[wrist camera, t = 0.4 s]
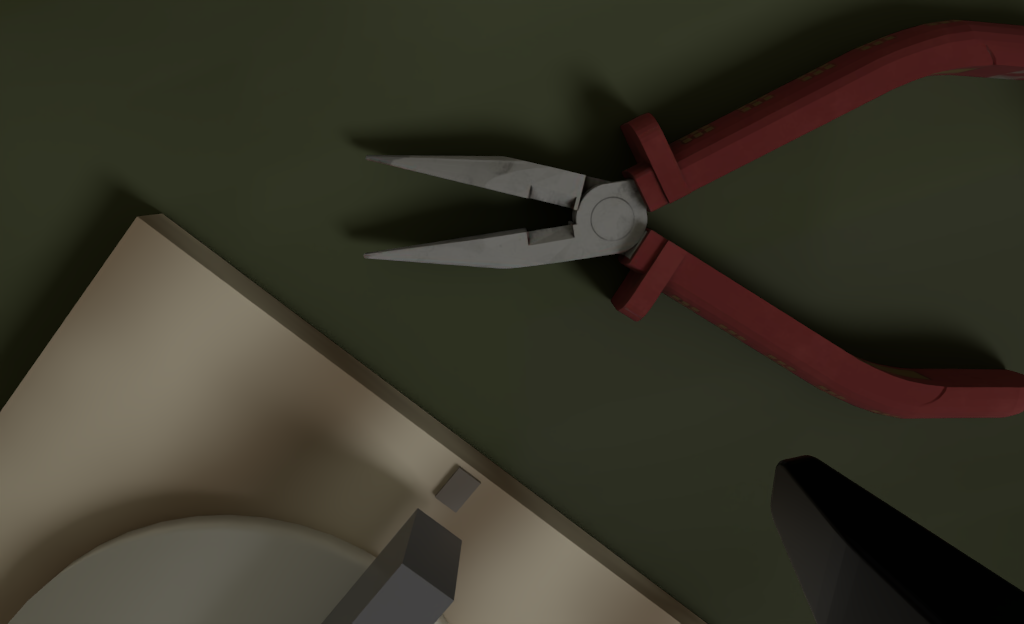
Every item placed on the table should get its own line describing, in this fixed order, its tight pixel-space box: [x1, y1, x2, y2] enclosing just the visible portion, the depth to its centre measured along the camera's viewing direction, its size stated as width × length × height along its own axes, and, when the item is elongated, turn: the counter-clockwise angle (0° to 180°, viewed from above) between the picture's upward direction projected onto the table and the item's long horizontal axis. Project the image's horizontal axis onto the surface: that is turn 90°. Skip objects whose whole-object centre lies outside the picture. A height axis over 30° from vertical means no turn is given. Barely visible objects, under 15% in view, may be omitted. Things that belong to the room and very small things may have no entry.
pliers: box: [364, 20, 1024, 418], centre depth 21 cm, size 12×20×3 cm, turn 88°
